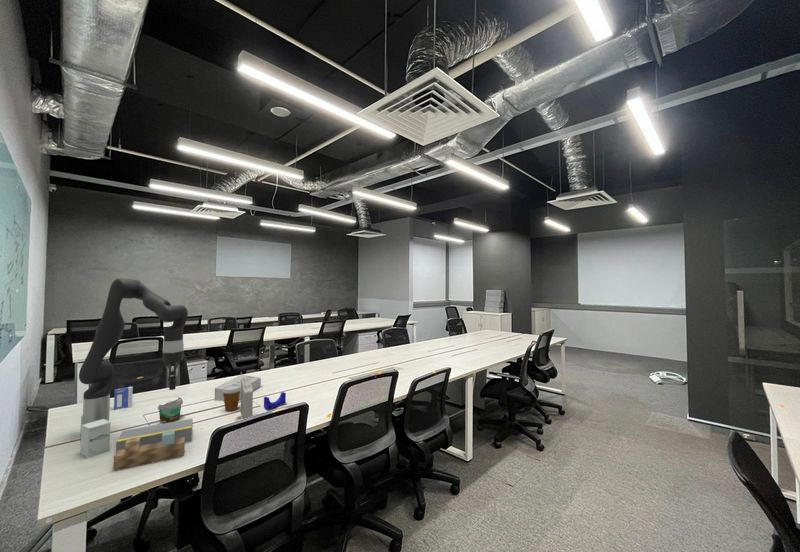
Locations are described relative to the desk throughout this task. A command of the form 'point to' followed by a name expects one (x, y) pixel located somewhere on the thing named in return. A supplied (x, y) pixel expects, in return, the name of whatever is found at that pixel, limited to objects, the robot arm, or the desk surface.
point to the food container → (170, 411)
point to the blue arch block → (273, 404)
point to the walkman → (123, 398)
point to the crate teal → (168, 437)
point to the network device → (246, 399)
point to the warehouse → (236, 381)
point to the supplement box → (95, 438)
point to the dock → (156, 433)
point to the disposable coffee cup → (231, 397)
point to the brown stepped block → (149, 454)
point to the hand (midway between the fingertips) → (172, 387)
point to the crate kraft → (132, 445)
